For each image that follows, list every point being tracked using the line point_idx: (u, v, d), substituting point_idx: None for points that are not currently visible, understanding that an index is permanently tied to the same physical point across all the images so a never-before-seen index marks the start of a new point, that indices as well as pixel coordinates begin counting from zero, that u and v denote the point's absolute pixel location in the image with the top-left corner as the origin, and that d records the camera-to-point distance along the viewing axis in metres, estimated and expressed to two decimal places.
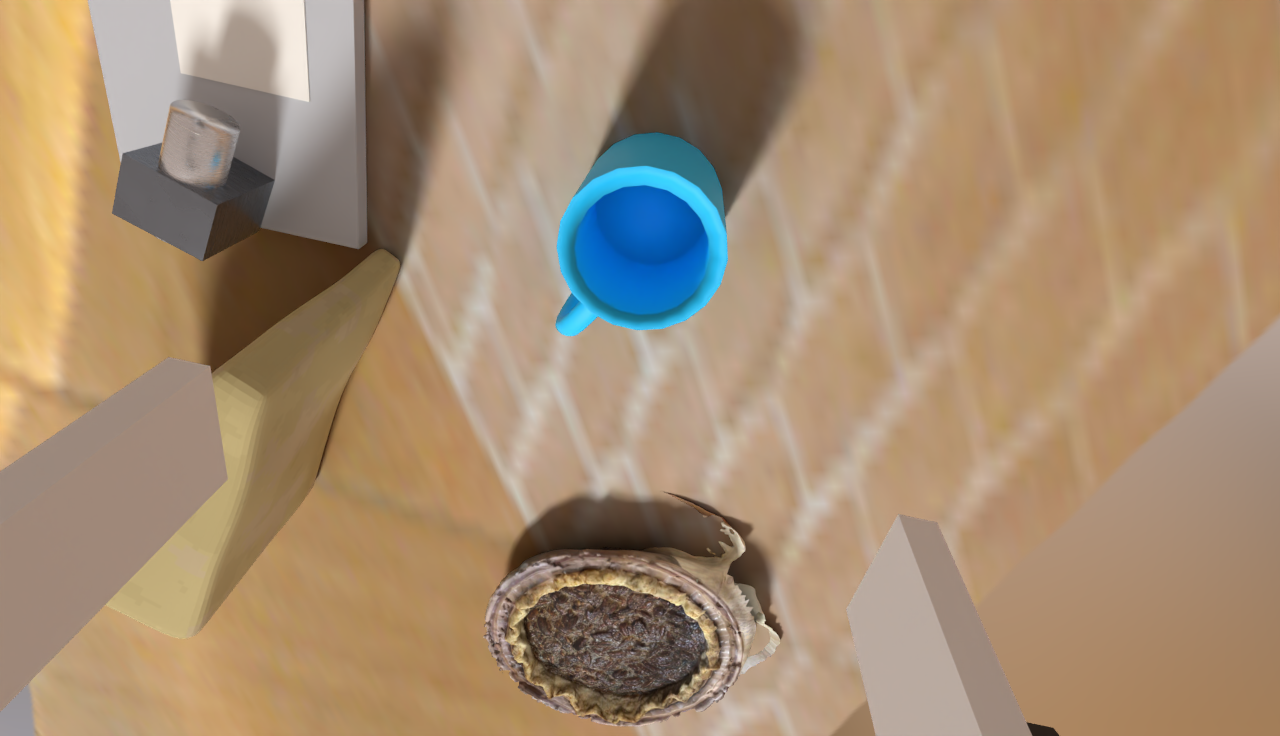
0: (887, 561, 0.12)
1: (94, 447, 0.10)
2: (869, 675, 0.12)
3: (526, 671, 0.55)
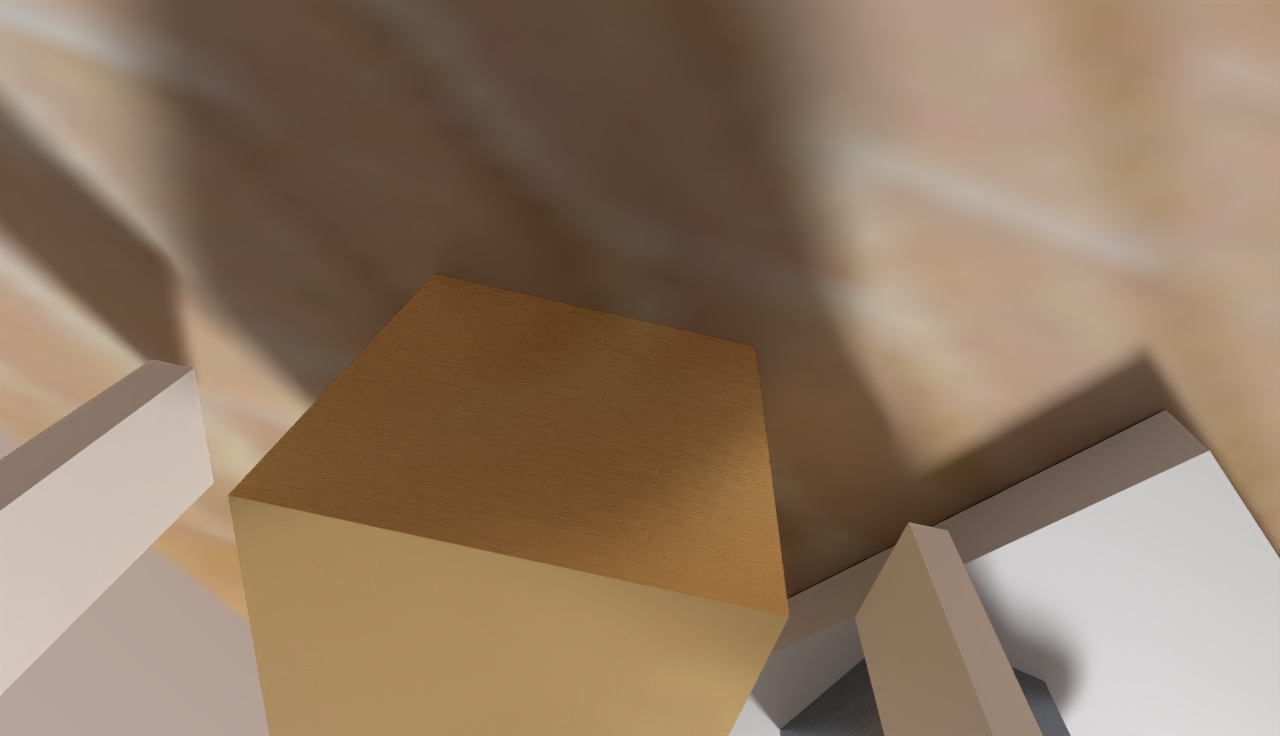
0: (897, 569, 0.12)
1: (73, 451, 0.09)
2: (879, 685, 0.12)
3: None
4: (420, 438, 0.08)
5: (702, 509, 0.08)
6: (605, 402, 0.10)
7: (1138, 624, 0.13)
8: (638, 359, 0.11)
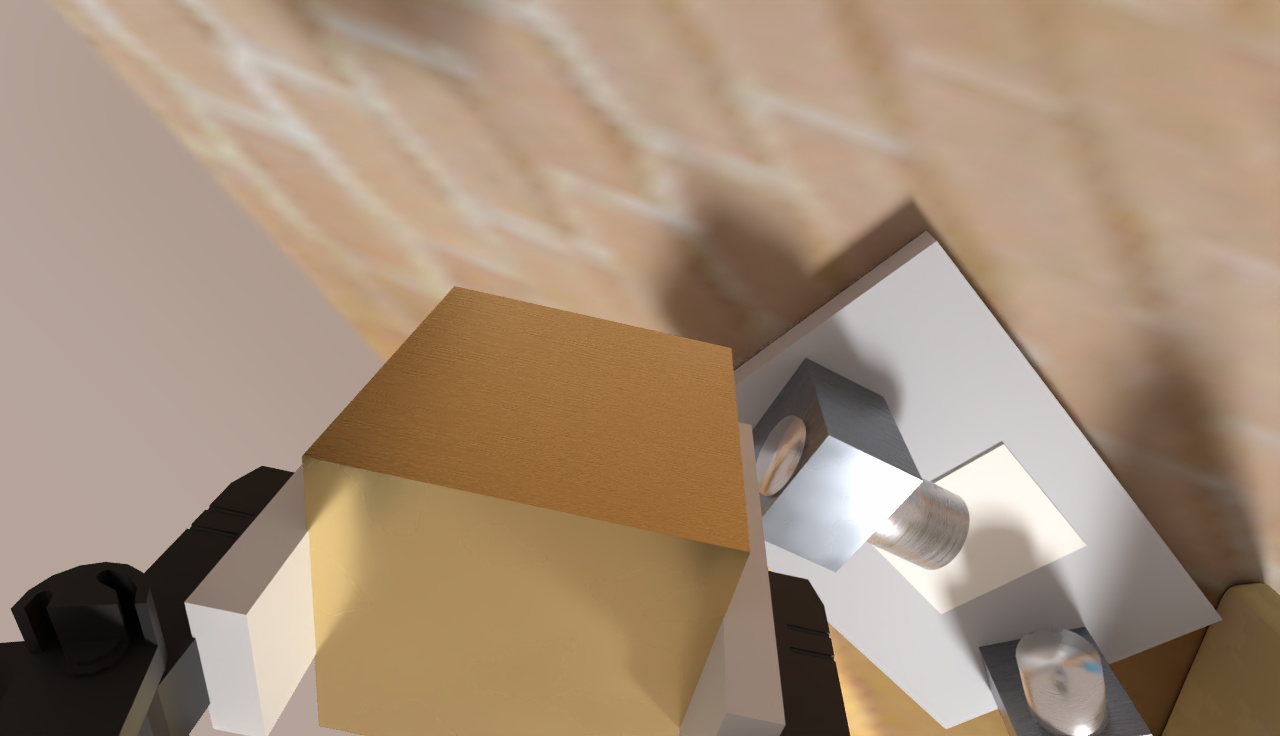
0: None
1: None
2: None
3: None
4: (450, 417, 0.10)
5: (682, 474, 0.10)
6: (601, 392, 0.11)
7: (925, 352, 0.25)
8: (629, 358, 0.13)
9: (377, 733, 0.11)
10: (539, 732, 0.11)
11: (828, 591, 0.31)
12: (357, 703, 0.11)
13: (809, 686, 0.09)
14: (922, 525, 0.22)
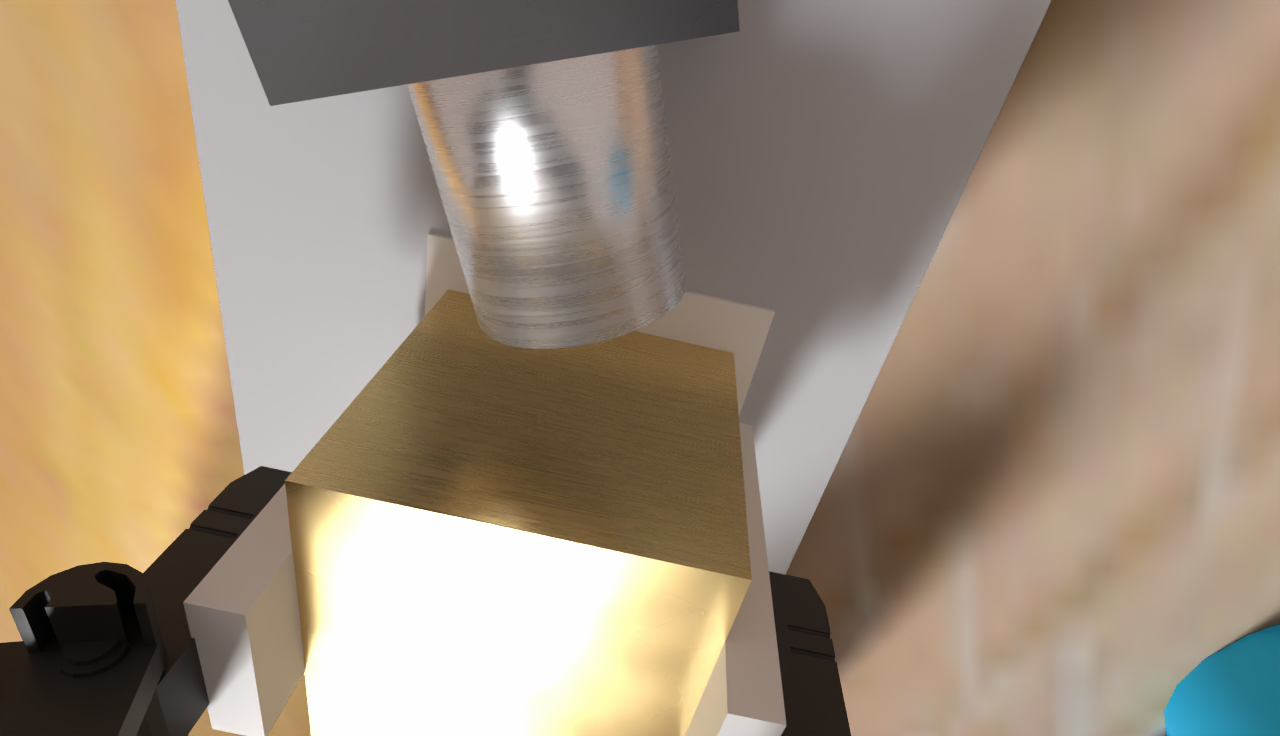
0: None
1: None
2: None
3: None
4: (441, 434, 0.09)
5: (681, 494, 0.09)
6: (598, 404, 0.11)
7: None
8: (628, 366, 0.12)
9: None
10: None
11: (276, 314, 0.14)
12: (350, 721, 0.11)
13: (810, 687, 0.09)
14: (591, 199, 0.07)
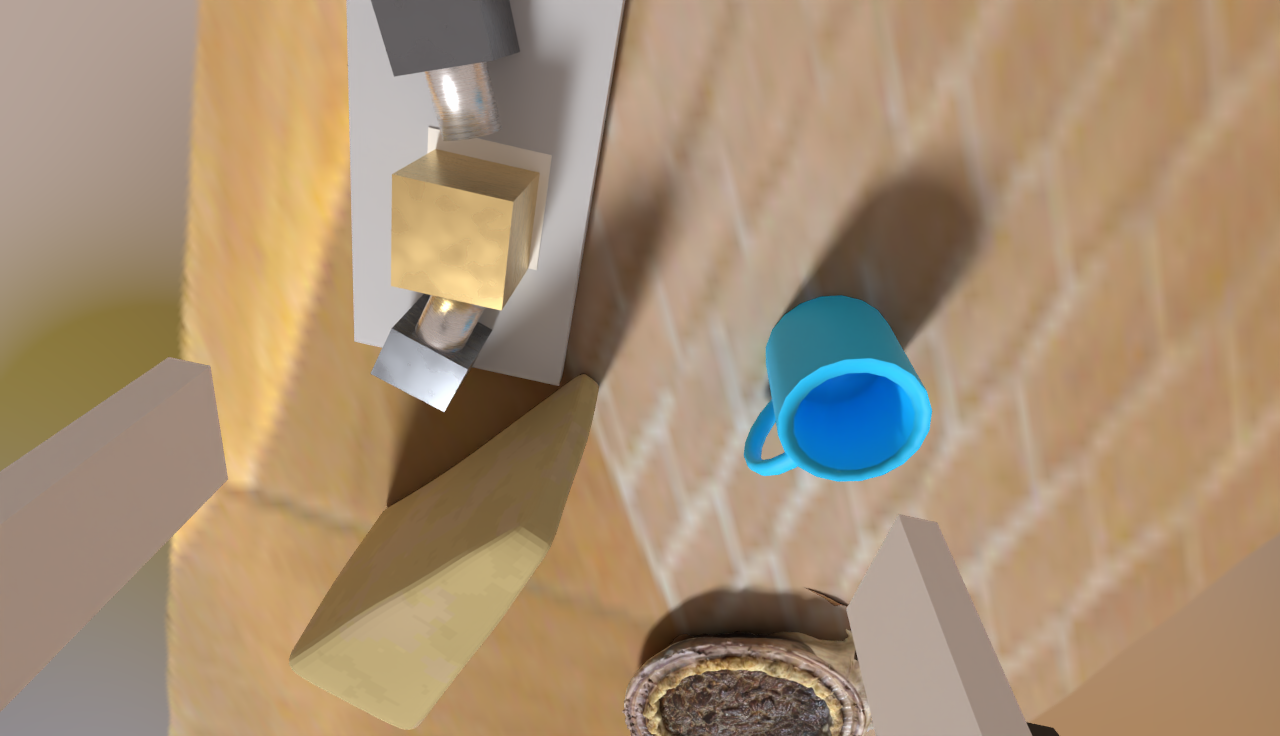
0: (887, 560, 0.12)
1: (94, 447, 0.10)
2: (869, 675, 0.12)
3: None
4: (432, 173, 0.33)
5: (501, 190, 0.33)
6: (482, 175, 0.34)
7: (564, 48, 0.34)
8: (496, 170, 0.36)
9: (410, 289, 0.35)
10: (462, 282, 0.34)
11: (371, 161, 0.38)
12: (403, 273, 0.34)
13: None
14: (467, 99, 0.31)
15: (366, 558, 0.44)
